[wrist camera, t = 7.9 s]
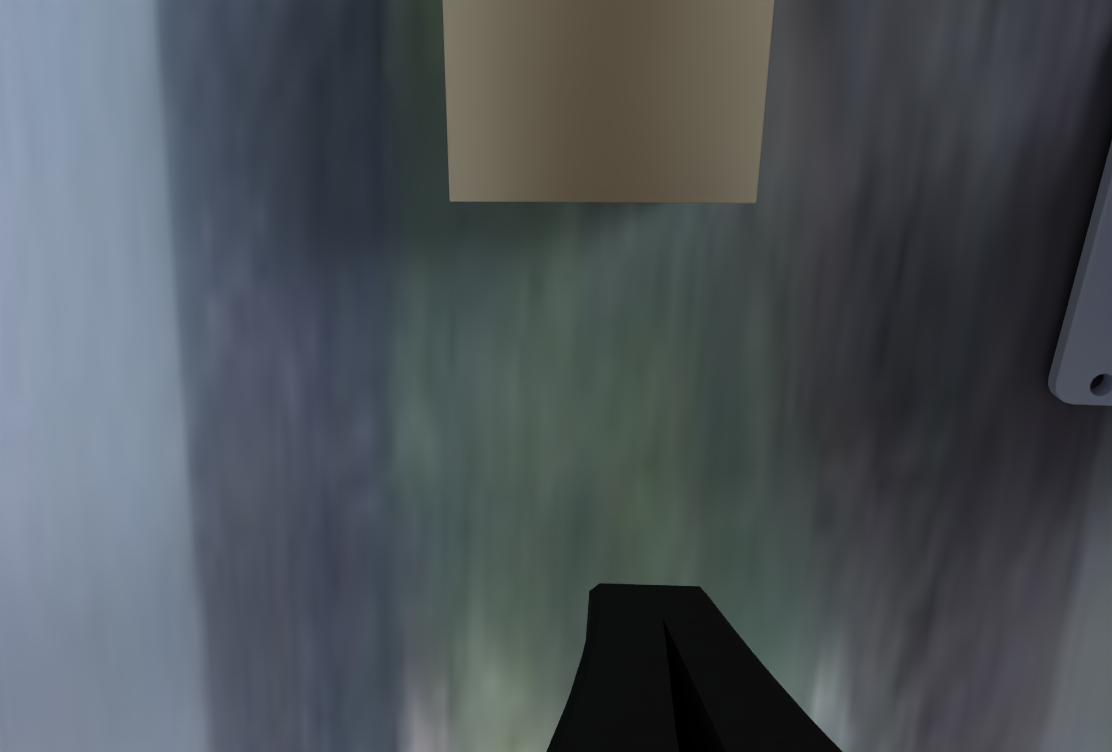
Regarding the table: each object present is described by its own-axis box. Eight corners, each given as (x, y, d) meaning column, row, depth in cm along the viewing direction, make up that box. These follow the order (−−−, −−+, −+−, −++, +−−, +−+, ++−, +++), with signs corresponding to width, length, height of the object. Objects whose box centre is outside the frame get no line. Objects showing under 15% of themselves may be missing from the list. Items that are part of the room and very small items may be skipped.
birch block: (729, -105, 16) (787, -149, 12) (711, 169, 18) (756, 202, 14) (460, -108, 16) (437, -152, 12) (468, 168, 18) (450, 201, 14)
